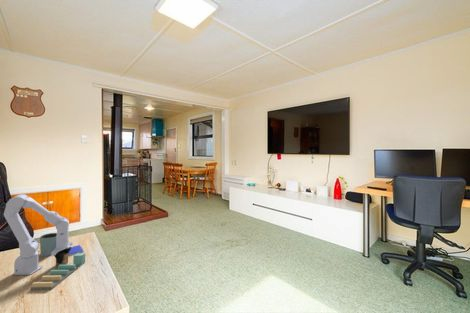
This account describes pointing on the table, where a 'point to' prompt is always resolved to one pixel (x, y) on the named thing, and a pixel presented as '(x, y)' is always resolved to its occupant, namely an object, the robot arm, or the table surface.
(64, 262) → the walnut plug
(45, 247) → the grey-green bucket
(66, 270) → the slot comb
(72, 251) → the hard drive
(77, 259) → the teal plug
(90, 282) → the table surface
